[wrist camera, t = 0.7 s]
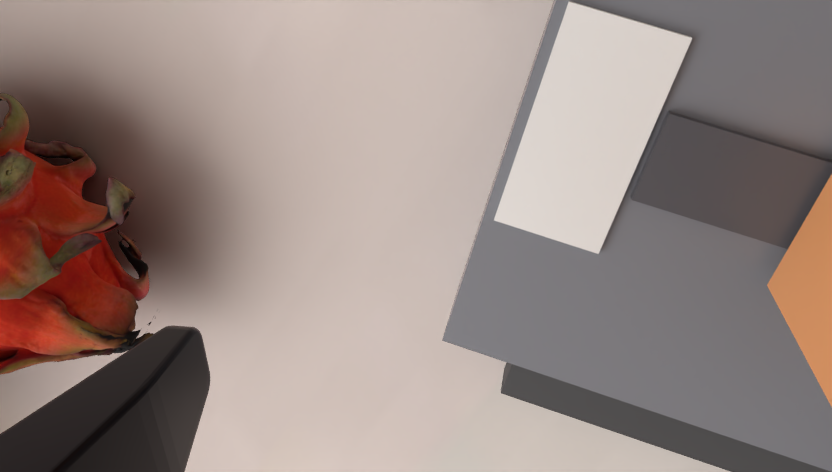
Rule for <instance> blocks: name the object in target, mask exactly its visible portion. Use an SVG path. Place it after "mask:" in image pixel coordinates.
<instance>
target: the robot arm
mask: <svg viewBox="0 0 832 472" xmlns="http://www.w3.org/2000/svg"><path fill="white" fill-rule="evenodd" d="M209 386H210V371H209V367H208V362H207V357H206V353H205V348H204V344H203V339H202V335H201V333H200V331H199V330H198V329H197V328H195V327H185V326H167V327H165V328H163V329H161V330H160V331H158V332H157V333H155V334H153V335H152V336H150V337H149V338H147V339H146V340H144V341H143V342H141V343H140V344H138V345H137V346H135V347H134V348H132V349H130V350H129V351H127V352H126V353H124V354H123V355H121V356H120V357H118V358H117V359H115V360H114V361H112V362H110V363H109V364H107V365H106V366H104V367H103V368H101V369H100V370H98V371H97V372H95V373H94V374H92V375H90V376H89V377H87V378H86V379H84V380H83V381H81V382H80V383H78V384H77V385H75V386H74V387H72V388H70V389H69V390H67V391H66V392H64V393H63V394H61V395H60V396H58V397H57V398H55V399H54V400H52V401H51V402H49V403H47V404H46V405H44V406H43V407H41V408H40V409H38V410H37V411H35V412H34V413H32V414H31V415H29V416H27V417H26V418H24V419H23V420H21V421H20V422H18V423H17V424H15V425H14V426H12V427H11V428H9V429H7V430H6V431H4V432H3V433H1V434H0V472H185V468H186V465H187V462H188V458H189V455H190V452H191V448H192V445H193V442H194V438H195V435H196V432H197V428H198V425H199V422H200V418H201V415H202V411H203V408H204V405H205V401H206V398H207V395H208V391H209Z"/></svg>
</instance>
